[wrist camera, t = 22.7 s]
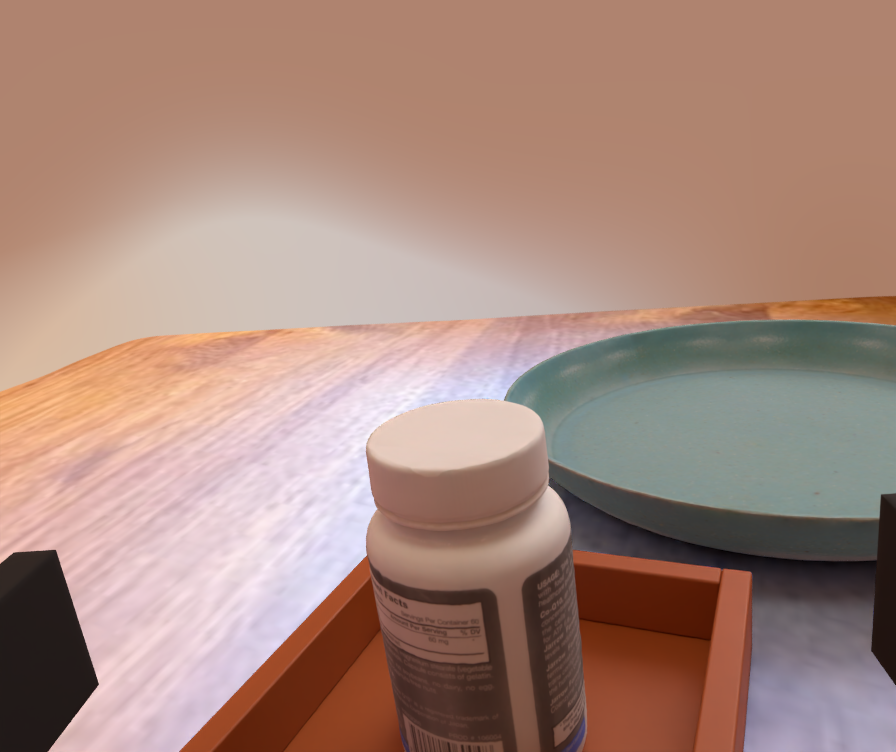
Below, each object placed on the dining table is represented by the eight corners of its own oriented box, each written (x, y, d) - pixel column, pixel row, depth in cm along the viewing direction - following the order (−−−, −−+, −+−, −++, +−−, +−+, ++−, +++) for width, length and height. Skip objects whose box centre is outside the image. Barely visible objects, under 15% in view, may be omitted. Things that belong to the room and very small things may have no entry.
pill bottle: (529, 648, 21) (501, 379, 19) (627, 759, 17) (607, 433, 15) (378, 709, 20) (325, 423, 17) (444, 848, 16) (387, 498, 13)
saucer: (1364, 615, 19) (1397, 505, 18) (477, 612, 24) (465, 525, 23) (945, 356, 42) (949, 300, 41) (527, 381, 47) (523, 332, 46)
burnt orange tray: (752, 647, 21) (752, 571, 20) (711, 1125, 11) (709, 1010, 11) (403, 590, 26) (393, 526, 25) (163, 886, 16) (134, 796, 15)
